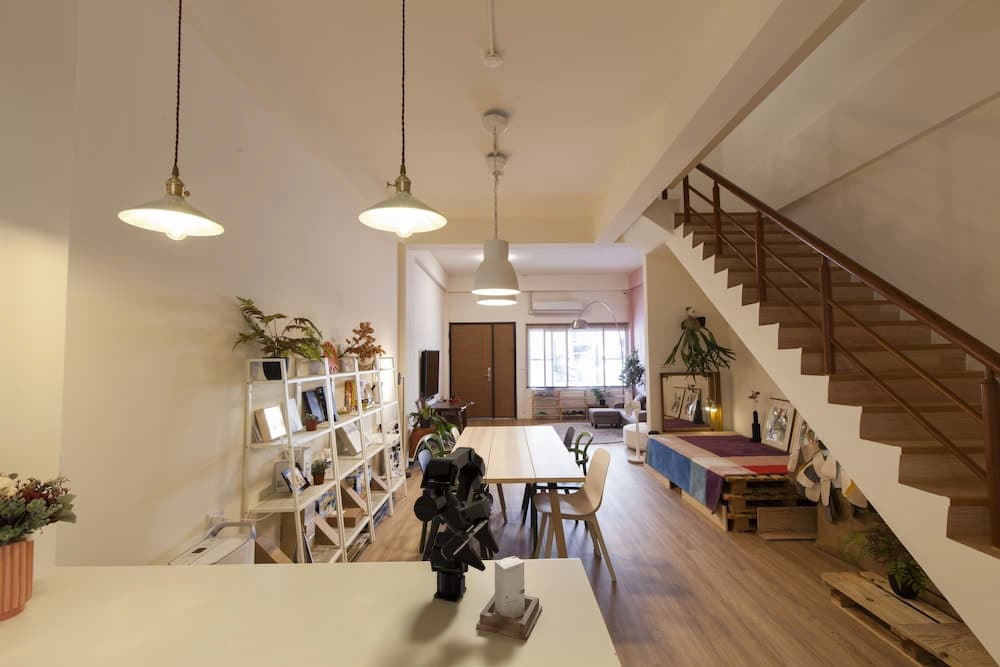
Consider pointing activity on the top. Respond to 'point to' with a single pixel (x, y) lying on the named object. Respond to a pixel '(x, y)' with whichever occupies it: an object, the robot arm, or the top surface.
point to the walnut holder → (510, 619)
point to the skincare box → (509, 587)
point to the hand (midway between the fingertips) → (491, 560)
